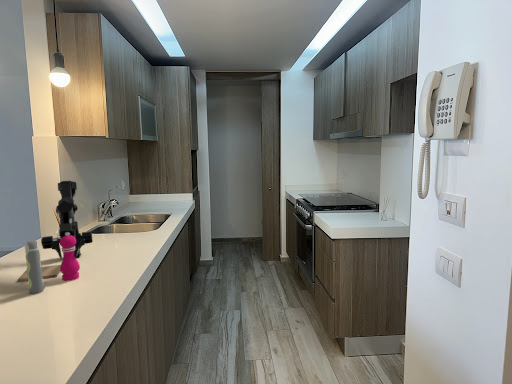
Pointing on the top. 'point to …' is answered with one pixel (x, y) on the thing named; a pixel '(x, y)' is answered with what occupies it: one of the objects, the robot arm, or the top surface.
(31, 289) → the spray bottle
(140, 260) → the top surface
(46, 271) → the taupe cutting board
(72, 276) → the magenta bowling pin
